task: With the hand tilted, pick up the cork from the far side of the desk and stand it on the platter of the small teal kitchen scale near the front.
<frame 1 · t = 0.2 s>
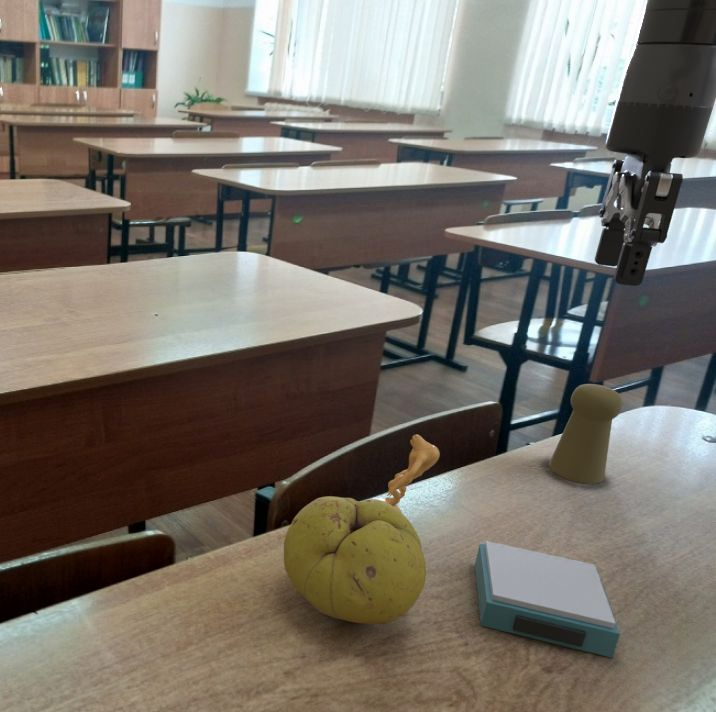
hand: (615, 274, 72), 26 cm above the table, tool pointing down, fingers open, 8 cm apart
cork: (575, 472, 89), on the table
figurine: (388, 541, 73), on the table
fruit: (346, 609, 63), on the table
scale: (537, 607, 65), on the table
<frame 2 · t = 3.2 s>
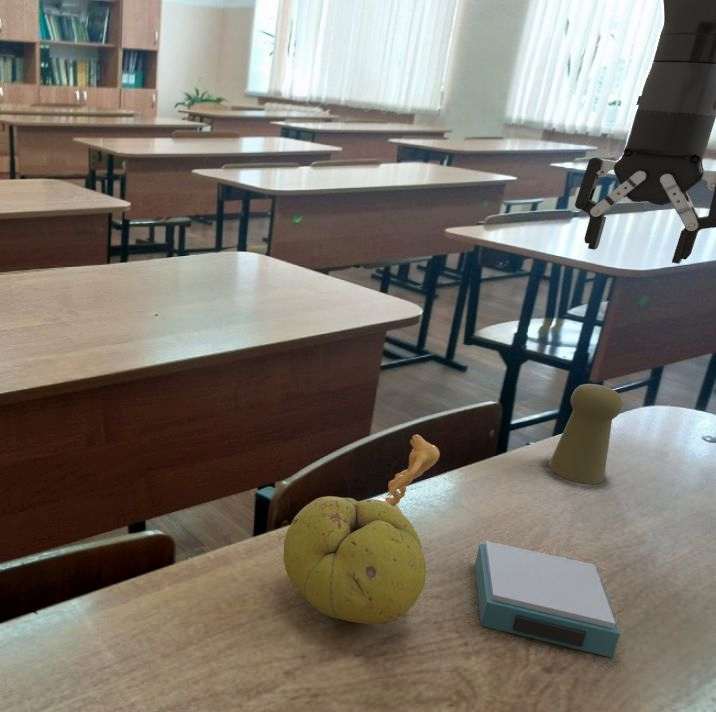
hand: (633, 255, 85), 26 cm above the table, tool pointing down, fingers open, 8 cm apart
nothing on the table moved.
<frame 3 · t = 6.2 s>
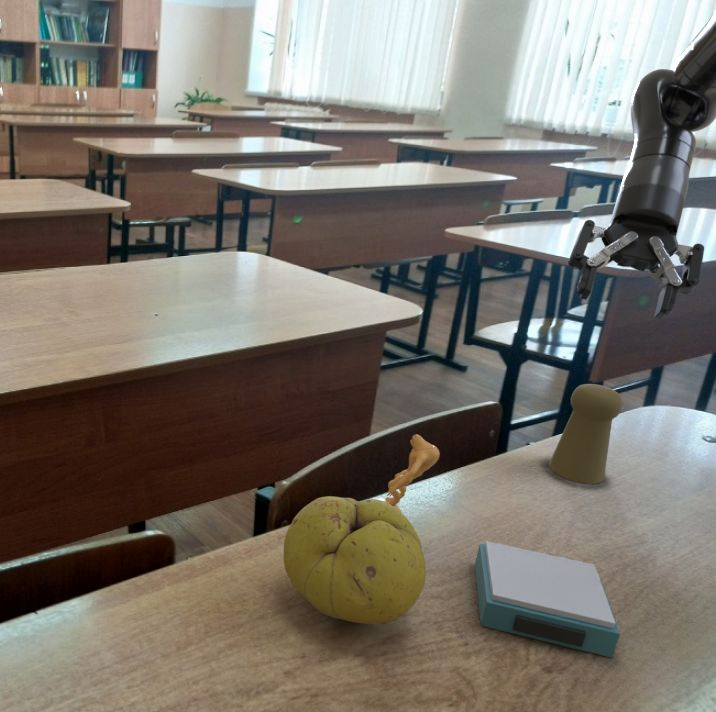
hand: (622, 305, 91), 18 cm above the table, tool tilted 40°, fingers open, 8 cm apart
nothing on the table moved.
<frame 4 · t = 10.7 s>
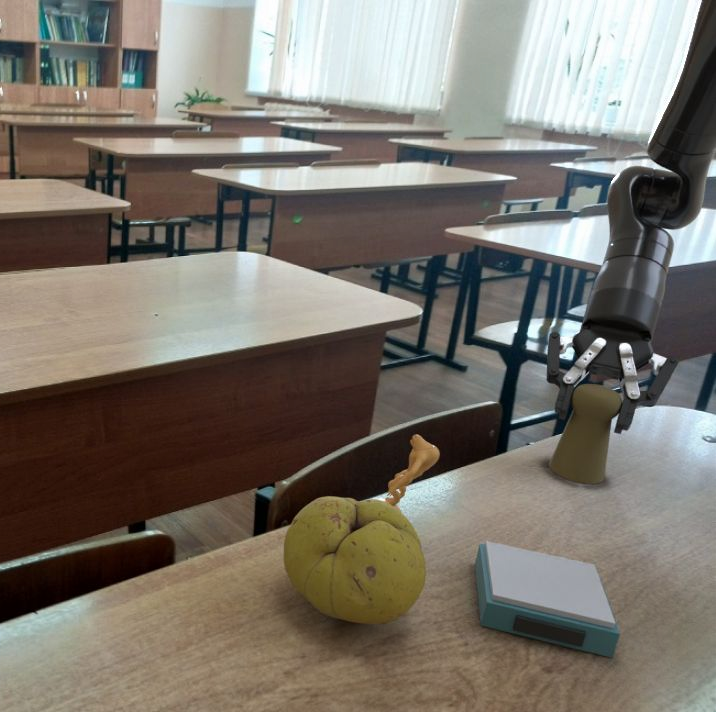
hand: (590, 423, 85), 7 cm above the table, tool tilted 45°, fingers closed on cork, 5 cm apart
cork: (575, 472, 89), on the table, touching gripper
everything else where it was.
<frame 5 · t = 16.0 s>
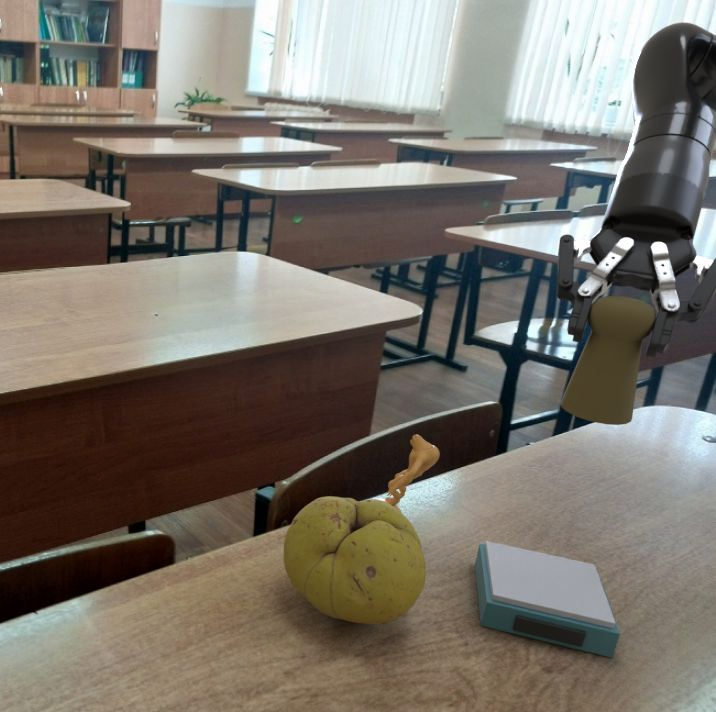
hand: (614, 344, 65), 22 cm above the table, tool tilted 45°, fingers closed on cork, 5 cm apart
cork: (594, 412, 69), point 15 cm above the table, touching gripper
everything else where it was.
when the fingers open (10 cm above the table, at t = 21.3 s): cork stays where it is, resting on scale.
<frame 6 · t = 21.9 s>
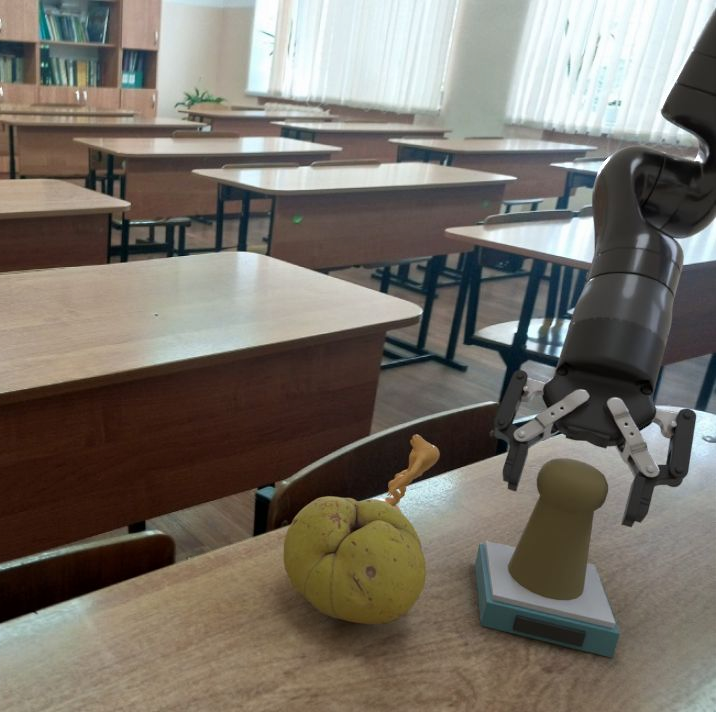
hand: (568, 505, 60), 11 cm above the table, tool tilted 45°, fingers open, 8 cm apart
cork: (544, 579, 64), point 3 cm above the table, touching scale
everything else where it was.
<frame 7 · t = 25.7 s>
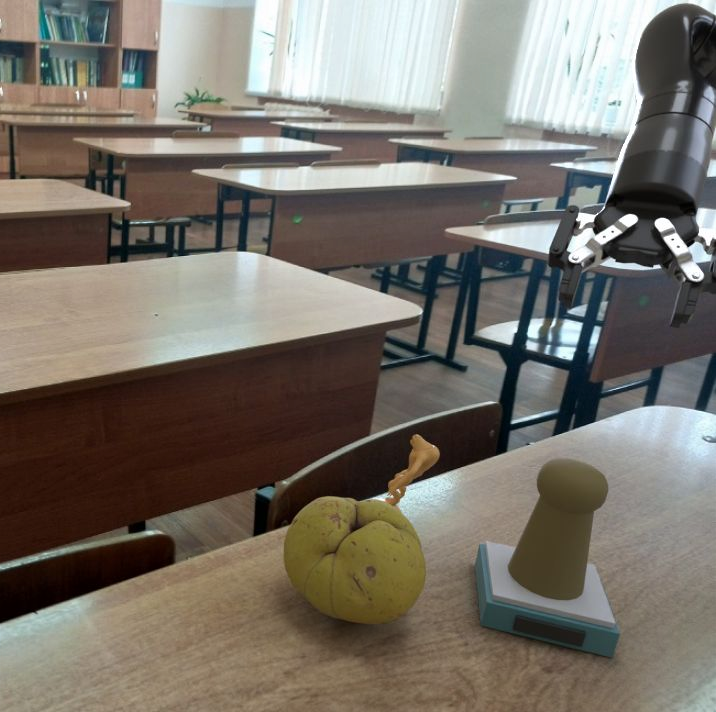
hand: (620, 313, 66), 24 cm above the table, tool tilted 45°, fingers open, 8 cm apart
nothing on the table moved.
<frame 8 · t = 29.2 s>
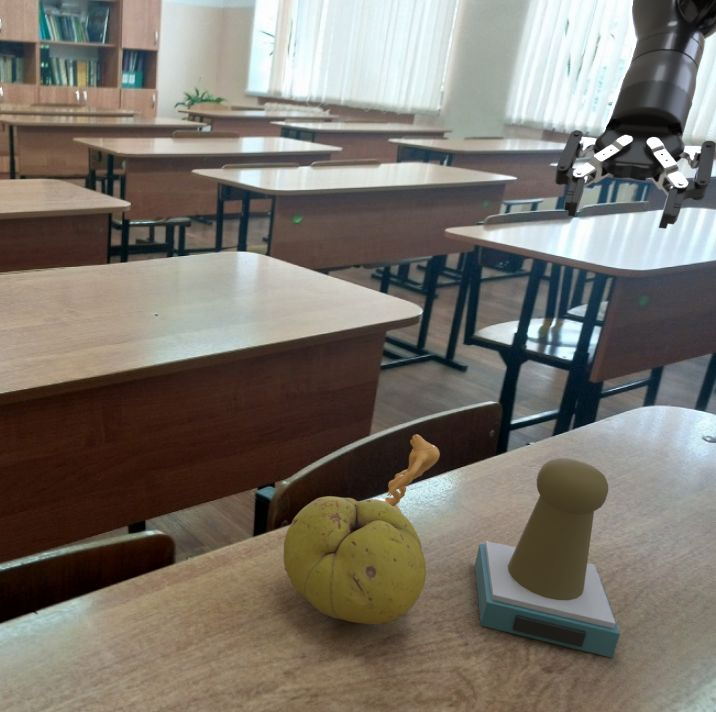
hand: (617, 217, 78), 31 cm above the table, tool tilted 45°, fingers open, 8 cm apart
nothing on the table moved.
at the end: cork inside the target area on the scale (0.2 cm from its centre), point 2.9 cm above the scale's base; cork tilted 0°; the gripper is holding nothing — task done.
